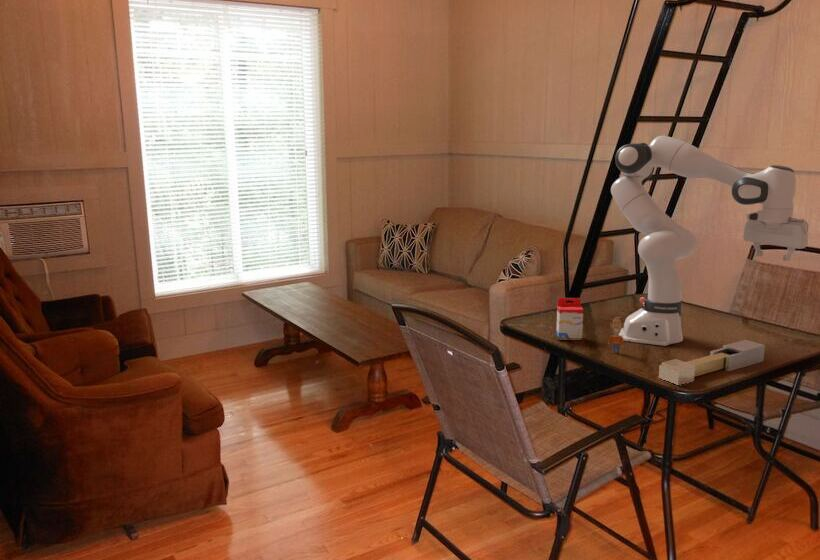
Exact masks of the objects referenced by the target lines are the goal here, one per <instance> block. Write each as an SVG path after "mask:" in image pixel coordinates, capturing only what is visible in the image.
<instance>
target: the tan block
mask: <svg viewBox="0 0 820 560" xmlns="http://www.w3.org/2000/svg"><path fill="white" fill-rule="evenodd" d="M726 356H729V355H728V354H725V353H717V354H713V355H710V354H709V355H706V356H703V357H699V358H696V359H692V360H688V361H685V362H686V363H689V364H692V365H695V375H694V378H695V377H698V376H703V375H706V374H709V373H712V372H716V371H719V370H723V369H725V366H726Z"/></svg>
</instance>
